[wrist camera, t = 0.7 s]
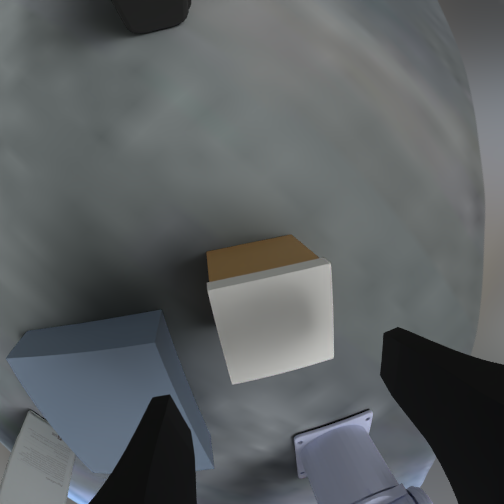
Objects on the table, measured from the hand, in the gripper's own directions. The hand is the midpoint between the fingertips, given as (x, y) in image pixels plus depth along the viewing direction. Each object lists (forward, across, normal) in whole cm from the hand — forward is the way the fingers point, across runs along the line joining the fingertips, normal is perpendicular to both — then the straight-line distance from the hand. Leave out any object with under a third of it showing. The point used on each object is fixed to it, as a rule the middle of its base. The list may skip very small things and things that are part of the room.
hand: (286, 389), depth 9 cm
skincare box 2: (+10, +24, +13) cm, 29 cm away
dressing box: (+10, +11, +7) cm, 16 cm away
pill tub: (+10, -1, 0) cm, 10 cm away
